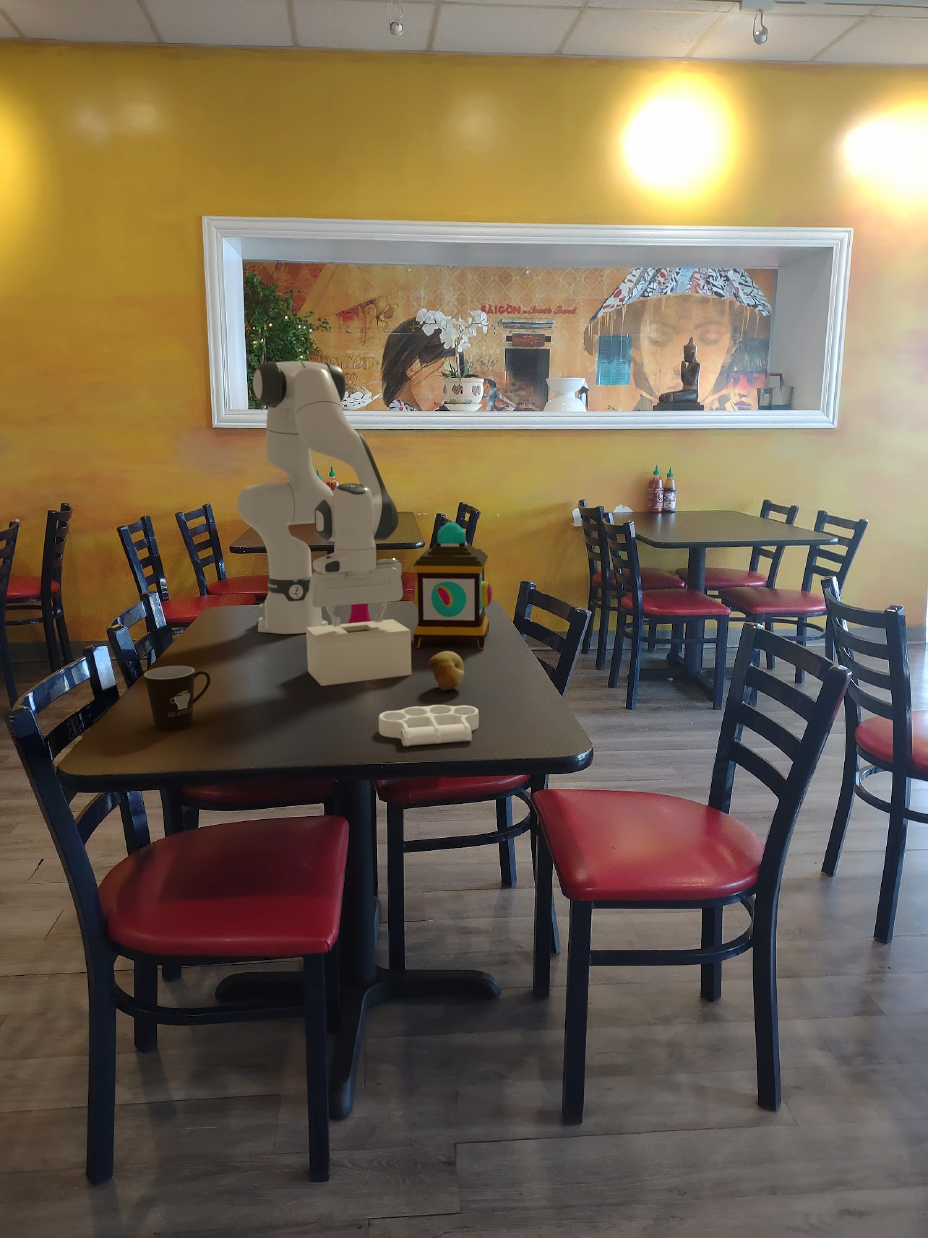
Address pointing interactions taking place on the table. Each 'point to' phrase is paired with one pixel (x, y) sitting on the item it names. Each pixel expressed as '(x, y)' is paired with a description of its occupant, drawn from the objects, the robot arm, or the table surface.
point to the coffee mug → (173, 696)
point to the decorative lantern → (451, 589)
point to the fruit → (447, 669)
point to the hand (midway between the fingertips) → (357, 623)
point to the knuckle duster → (430, 724)
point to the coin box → (358, 651)
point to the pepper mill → (359, 613)
